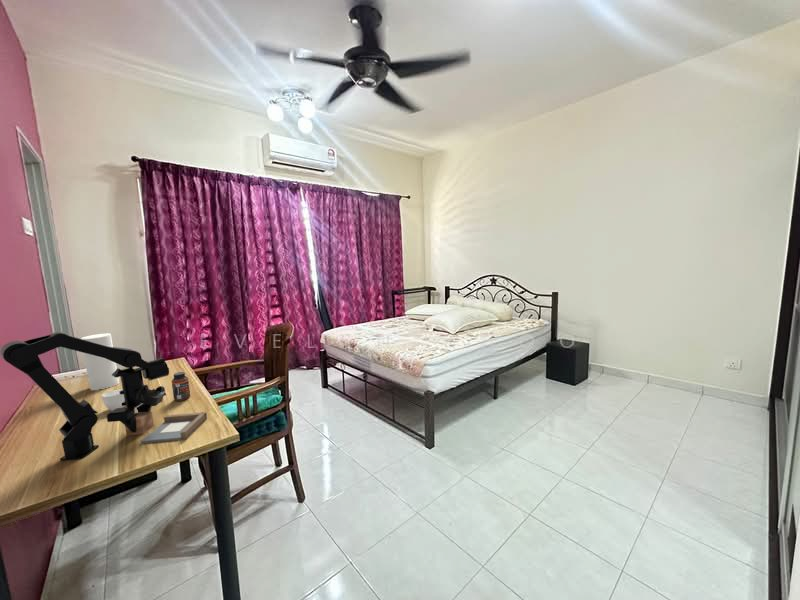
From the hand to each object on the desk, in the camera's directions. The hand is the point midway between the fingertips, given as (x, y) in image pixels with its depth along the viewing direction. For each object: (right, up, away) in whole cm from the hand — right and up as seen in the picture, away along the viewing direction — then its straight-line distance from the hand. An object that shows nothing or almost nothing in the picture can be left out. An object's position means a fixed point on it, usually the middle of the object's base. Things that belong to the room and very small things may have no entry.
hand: (140, 427), depth 115 cm
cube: (0, -1, 0) cm, 1 cm away
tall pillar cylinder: (-53, +3, +46) cm, 70 cm away
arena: (+13, -1, -1) cm, 13 cm away
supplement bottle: (-2, +2, +26) cm, 26 cm away
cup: (-24, 0, +20) cm, 31 cm away
